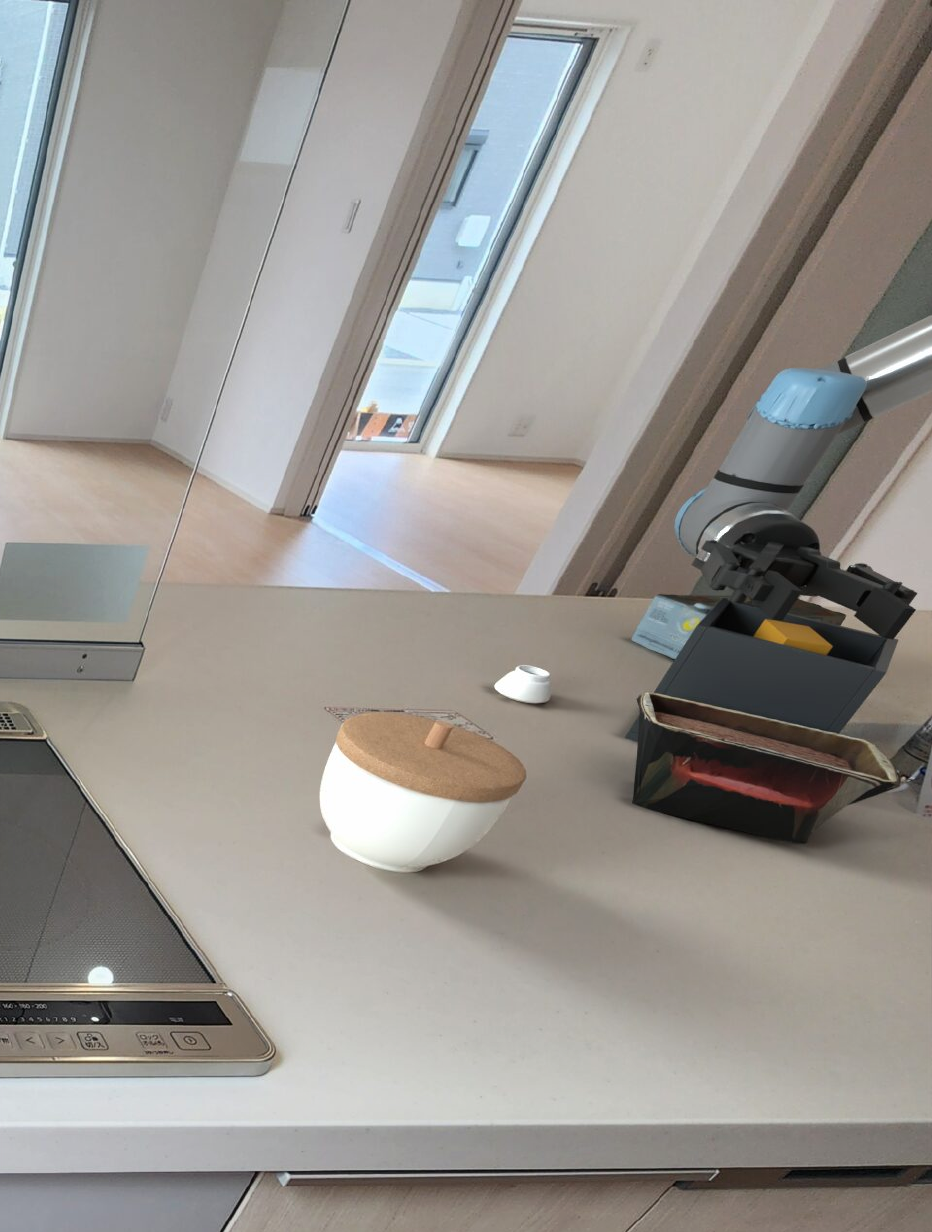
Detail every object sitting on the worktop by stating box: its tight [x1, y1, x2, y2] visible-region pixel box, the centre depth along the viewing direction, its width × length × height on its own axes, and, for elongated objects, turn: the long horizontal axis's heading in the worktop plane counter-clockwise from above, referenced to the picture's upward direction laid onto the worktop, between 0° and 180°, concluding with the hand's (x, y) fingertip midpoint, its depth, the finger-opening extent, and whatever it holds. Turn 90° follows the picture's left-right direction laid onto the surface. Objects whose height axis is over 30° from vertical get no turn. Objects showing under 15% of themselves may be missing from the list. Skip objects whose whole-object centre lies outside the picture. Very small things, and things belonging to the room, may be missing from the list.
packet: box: [753, 619, 833, 655], centre depth 104 cm, size 4×6×11 cm, turn 155°
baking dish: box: [631, 691, 902, 845], centre depth 94 cm, size 14×18×10 cm
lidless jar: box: [494, 664, 552, 704], centre depth 114 cm, size 5×3×5 cm
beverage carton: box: [631, 593, 847, 660], centre depth 128 cm, size 8×19×7 cm, turn 96°
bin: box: [624, 598, 899, 743], centre depth 104 cm, size 14×14×12 cm
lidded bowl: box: [319, 712, 527, 874], centre depth 83 cm, size 13×13×11 cm
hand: (842, 614), depth 95 cm, fingers open, 7 cm apart
